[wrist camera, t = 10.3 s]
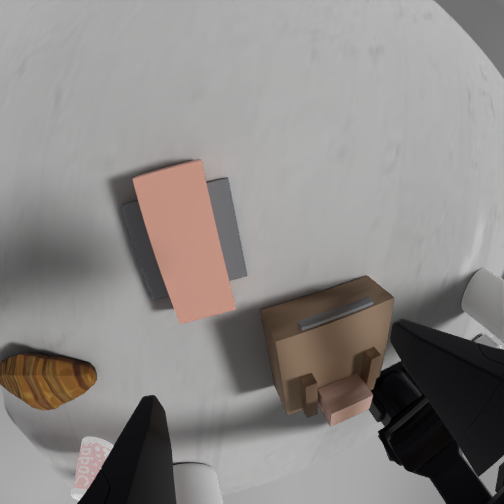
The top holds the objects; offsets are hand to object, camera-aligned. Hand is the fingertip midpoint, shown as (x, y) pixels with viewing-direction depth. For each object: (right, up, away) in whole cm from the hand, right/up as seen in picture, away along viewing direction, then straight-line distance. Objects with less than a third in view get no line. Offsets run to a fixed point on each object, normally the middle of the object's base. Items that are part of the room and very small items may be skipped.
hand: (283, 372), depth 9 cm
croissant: (-21, -7, +11) cm, 25 cm away
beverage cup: (-21, -21, +16) cm, 33 cm away
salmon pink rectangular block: (-5, +5, +9) cm, 12 cm away
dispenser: (+5, -4, +16) cm, 17 cm away
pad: (-5, +5, +9) cm, 12 cm away
